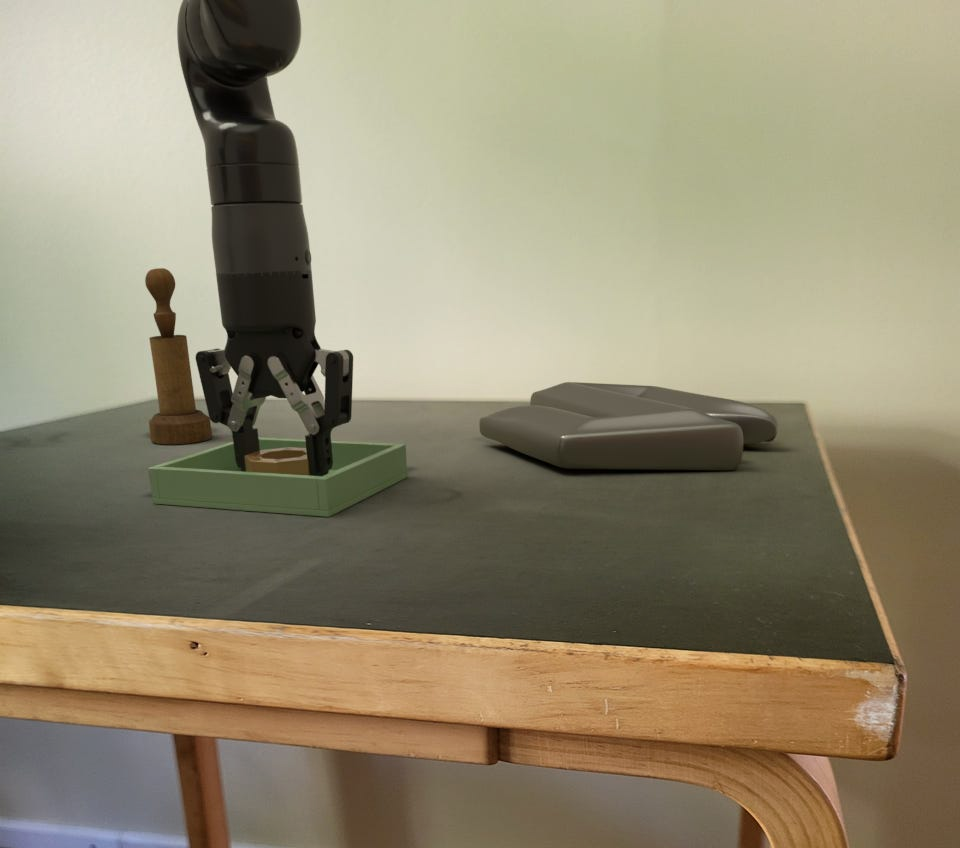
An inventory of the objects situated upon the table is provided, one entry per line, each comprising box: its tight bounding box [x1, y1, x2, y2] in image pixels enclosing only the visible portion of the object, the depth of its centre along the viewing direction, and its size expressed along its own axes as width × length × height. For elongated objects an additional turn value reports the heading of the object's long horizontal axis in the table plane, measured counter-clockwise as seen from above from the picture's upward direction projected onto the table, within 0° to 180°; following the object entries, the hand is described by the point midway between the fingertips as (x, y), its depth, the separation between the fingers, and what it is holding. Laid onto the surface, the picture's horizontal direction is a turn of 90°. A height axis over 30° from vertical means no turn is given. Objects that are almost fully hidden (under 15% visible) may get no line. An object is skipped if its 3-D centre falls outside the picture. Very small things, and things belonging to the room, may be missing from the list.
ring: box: [244, 447, 310, 476], centre depth 83 cm, size 6×6×3 cm
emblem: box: [478, 381, 779, 472], centre depth 97 cm, size 28×5×28 cm
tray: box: [147, 437, 408, 518], centre depth 83 cm, size 17×15×3 cm
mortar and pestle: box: [144, 267, 213, 446], centre depth 106 cm, size 7×6×18 cm
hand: (285, 474), depth 84 cm, fingers closed on ring, 6 cm apart
